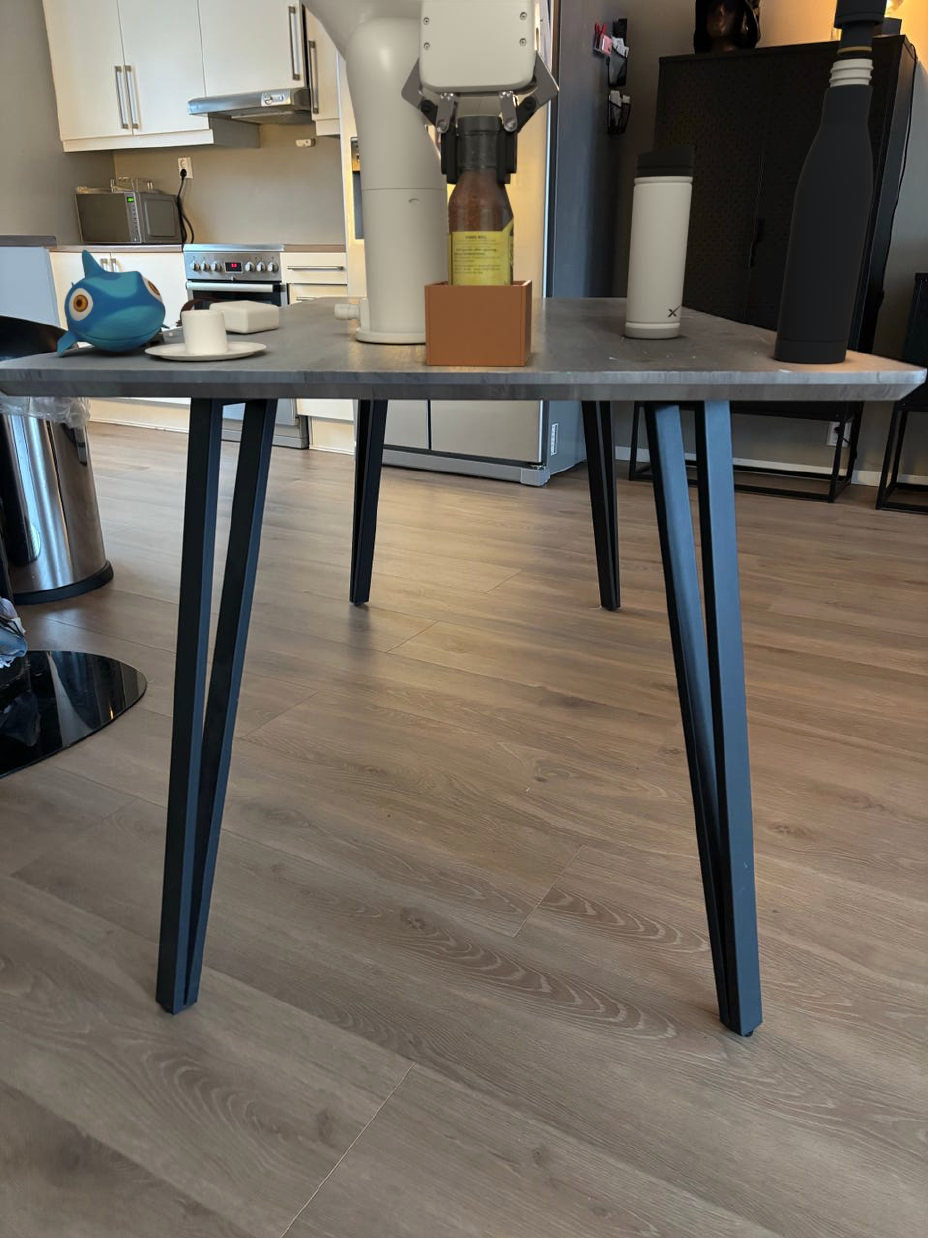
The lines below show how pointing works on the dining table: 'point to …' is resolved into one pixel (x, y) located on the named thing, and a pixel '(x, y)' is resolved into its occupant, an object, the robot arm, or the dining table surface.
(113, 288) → the toy
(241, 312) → the soap
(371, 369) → the dining table surface
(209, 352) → the candle holder
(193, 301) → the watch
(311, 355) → the dining table surface
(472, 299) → the box
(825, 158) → the black water bottle
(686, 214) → the travel mug
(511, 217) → the sauce bottle
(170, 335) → the witch figurine
